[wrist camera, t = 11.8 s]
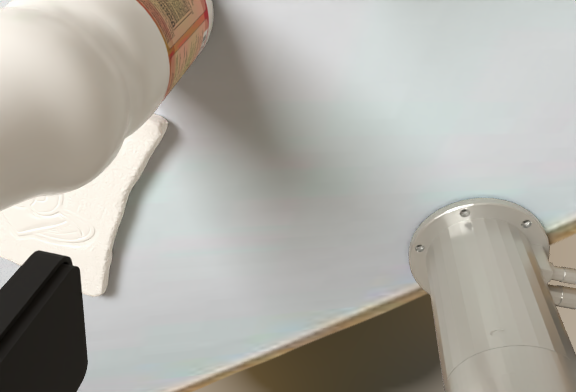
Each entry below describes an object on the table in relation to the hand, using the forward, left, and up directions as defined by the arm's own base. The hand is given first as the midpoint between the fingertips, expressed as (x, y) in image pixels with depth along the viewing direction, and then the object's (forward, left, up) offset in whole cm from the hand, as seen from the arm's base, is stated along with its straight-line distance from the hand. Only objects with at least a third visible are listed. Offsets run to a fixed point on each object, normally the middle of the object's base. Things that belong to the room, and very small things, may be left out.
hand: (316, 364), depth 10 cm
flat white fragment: (+27, +23, -36) cm, 50 cm away
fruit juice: (+15, +5, -35) cm, 38 cm away
